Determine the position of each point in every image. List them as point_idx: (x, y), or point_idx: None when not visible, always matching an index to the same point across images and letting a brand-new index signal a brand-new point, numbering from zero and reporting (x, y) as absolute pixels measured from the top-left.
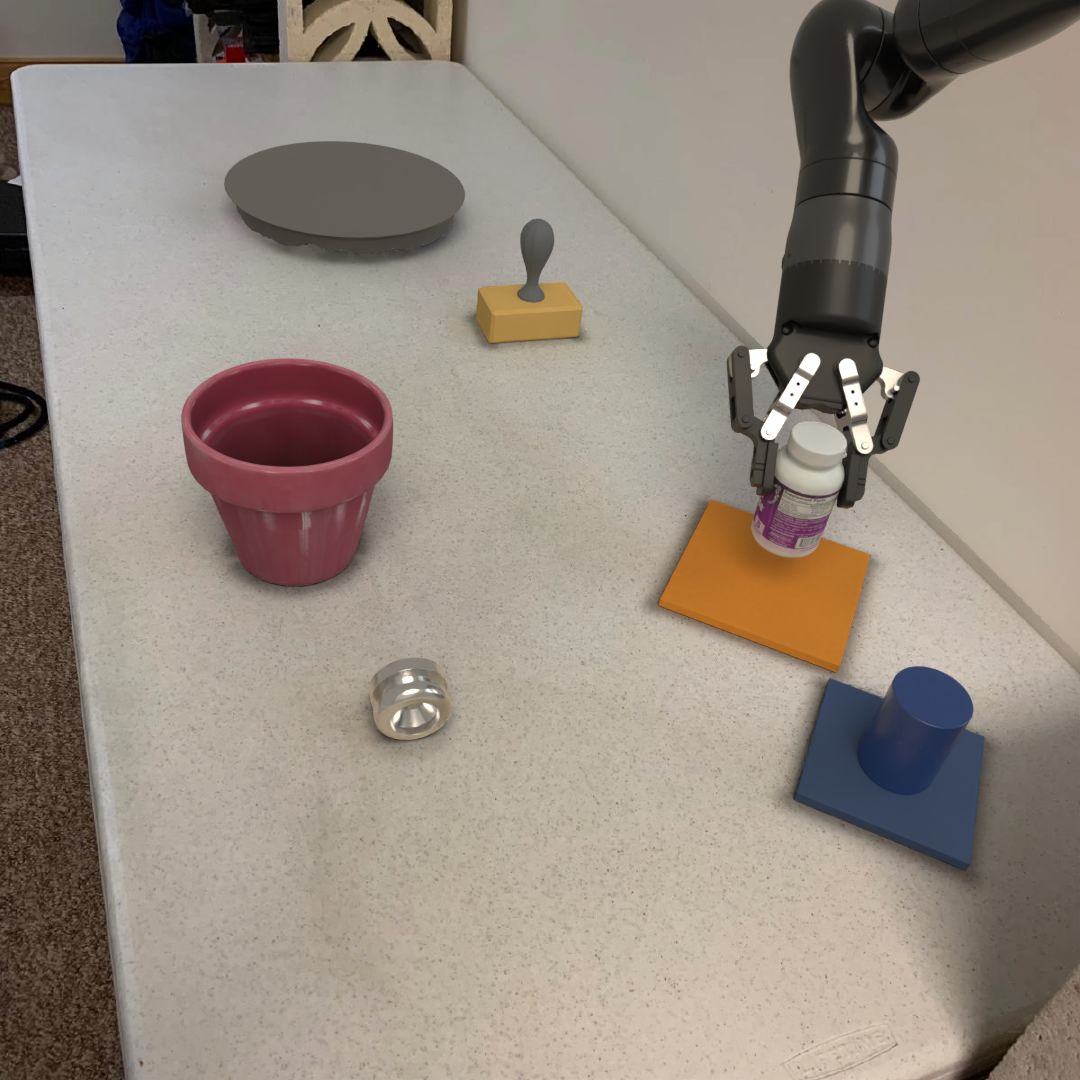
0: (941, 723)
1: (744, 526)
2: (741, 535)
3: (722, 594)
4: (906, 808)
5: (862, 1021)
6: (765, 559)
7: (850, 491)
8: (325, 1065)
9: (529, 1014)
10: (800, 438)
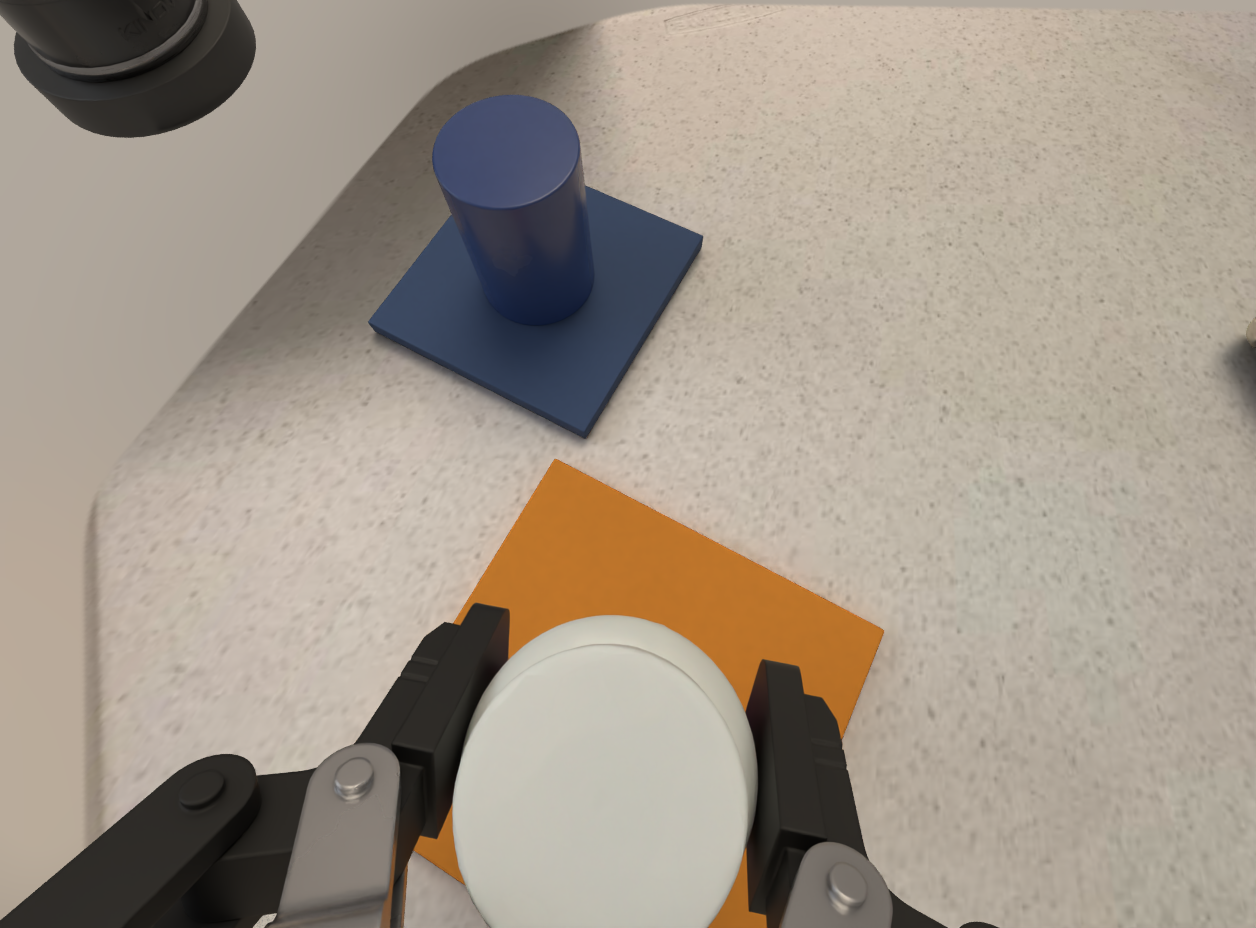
0: (518, 101)
1: None
2: None
3: (747, 645)
4: None
5: (692, 36)
6: None
7: (480, 630)
8: (1215, 14)
9: (1031, 45)
10: (711, 776)
